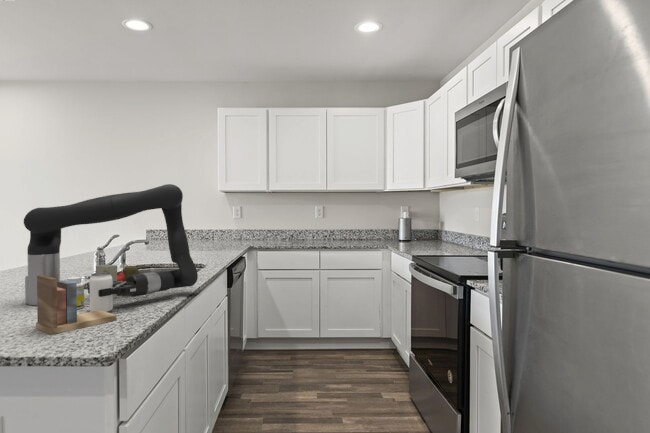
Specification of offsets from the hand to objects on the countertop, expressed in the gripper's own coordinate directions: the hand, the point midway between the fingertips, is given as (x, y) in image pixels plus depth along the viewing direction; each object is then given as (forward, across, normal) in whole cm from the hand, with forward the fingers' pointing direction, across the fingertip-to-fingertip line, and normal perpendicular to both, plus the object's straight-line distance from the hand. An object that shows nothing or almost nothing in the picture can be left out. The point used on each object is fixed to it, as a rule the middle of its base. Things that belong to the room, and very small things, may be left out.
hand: (93, 292), depth 129 cm
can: (-2, 0, +7) cm, 7 cm away
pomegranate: (-20, -26, +7) cm, 33 cm away
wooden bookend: (+9, +9, +6) cm, 14 cm away
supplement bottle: (+1, -11, +7) cm, 13 cm away
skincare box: (-12, -17, +7) cm, 22 cm away
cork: (-21, -16, +7) cm, 27 cm away
